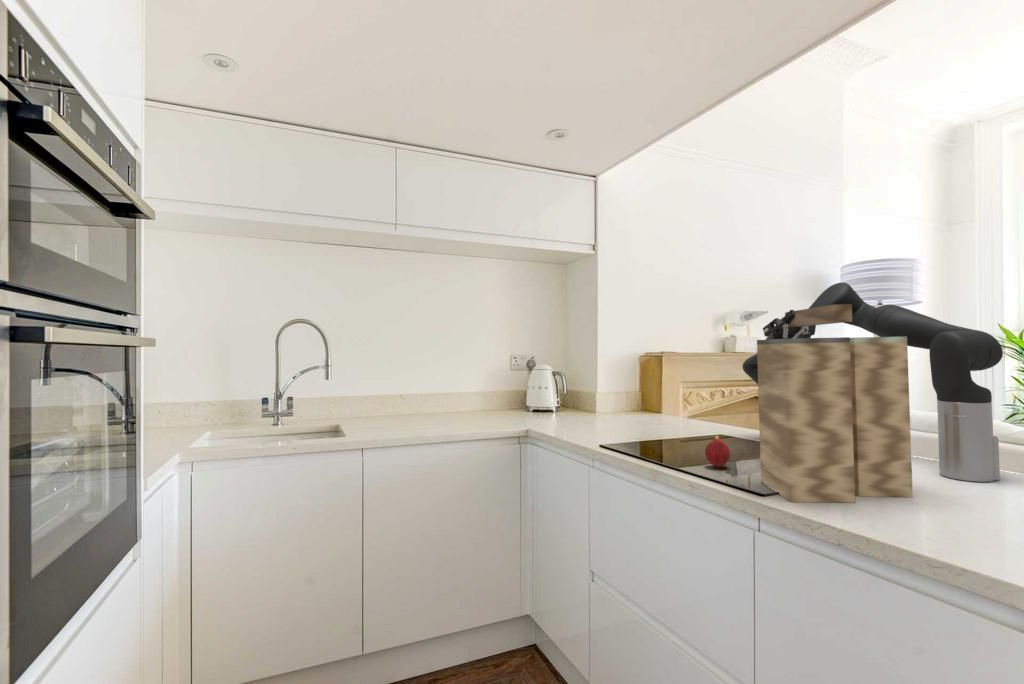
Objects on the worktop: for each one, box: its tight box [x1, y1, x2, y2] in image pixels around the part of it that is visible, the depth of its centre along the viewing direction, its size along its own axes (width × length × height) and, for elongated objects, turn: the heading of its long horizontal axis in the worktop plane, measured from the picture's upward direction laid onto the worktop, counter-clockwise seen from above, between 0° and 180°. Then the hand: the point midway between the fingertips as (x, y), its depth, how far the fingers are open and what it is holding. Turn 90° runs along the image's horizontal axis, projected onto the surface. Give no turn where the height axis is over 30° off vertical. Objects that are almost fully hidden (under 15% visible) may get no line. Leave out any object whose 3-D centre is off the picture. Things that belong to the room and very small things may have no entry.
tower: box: [850, 336, 914, 498], centre depth 105 cm, size 10×14×32 cm
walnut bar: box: [784, 304, 852, 327], centre depth 124 cm, size 4×24×4 cm, turn 175°
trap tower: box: [756, 336, 856, 504], centre depth 103 cm, size 12×14×32 cm
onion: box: [704, 435, 731, 469], centre depth 125 cm, size 6×6×8 cm
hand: (802, 312), depth 130 cm, fingers closed on walnut bar, 4 cm apart
